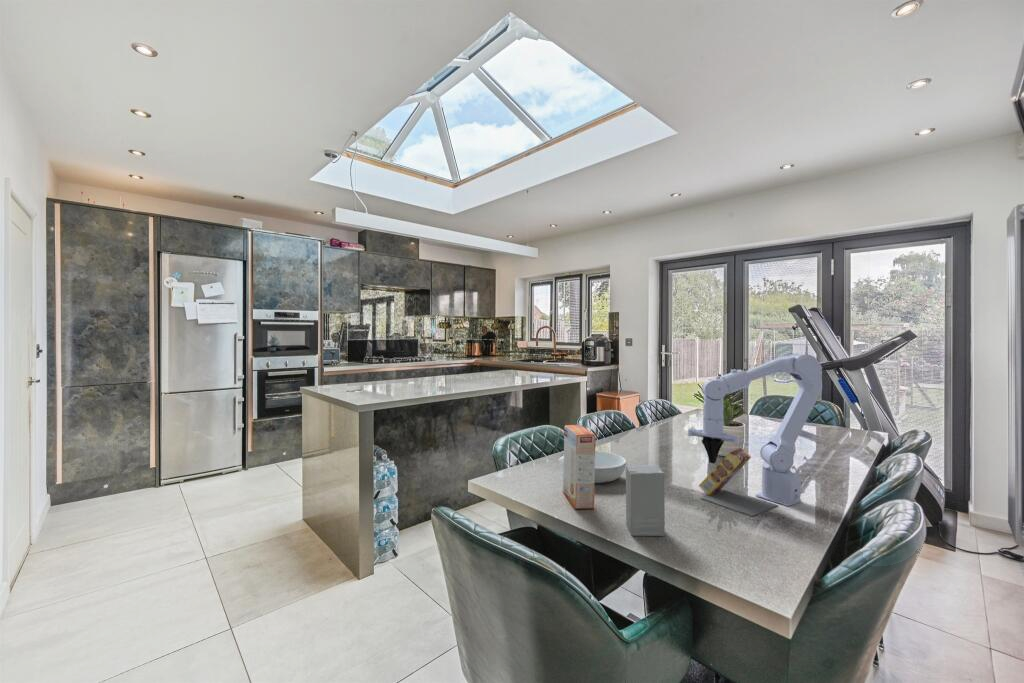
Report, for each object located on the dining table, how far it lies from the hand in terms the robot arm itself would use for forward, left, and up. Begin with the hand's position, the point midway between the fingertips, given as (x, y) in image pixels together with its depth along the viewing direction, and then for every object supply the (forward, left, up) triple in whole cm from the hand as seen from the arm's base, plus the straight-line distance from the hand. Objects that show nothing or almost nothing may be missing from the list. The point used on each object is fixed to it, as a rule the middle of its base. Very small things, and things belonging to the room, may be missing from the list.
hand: (712, 462), depth 134 cm
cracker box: (+17, +40, -10) cm, 45 cm away
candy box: (+1, 0, -8) cm, 9 cm away
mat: (-9, +1, -9) cm, 13 cm away
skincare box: (-7, +40, -10) cm, 42 cm away
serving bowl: (+29, +22, -10) cm, 38 cm away
